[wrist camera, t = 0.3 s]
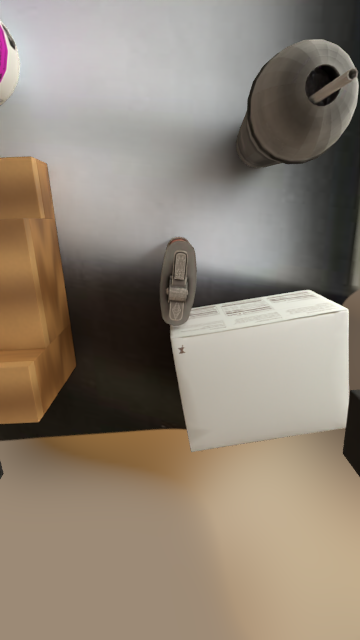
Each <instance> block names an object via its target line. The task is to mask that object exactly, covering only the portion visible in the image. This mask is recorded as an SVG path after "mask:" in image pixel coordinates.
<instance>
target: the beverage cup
mask: <svg viewBox="0 0 360 640" xmlns="http://www.w3.org/2000/svg"><path fill="white" fill-rule="evenodd" d="M357 75H358V71H357V69H356V68H355V66H354V65H353V63H352V61H351V59H350V57H349V55H348V54H347V53H346V52H345V51H343V50H342V49H341V48H340V47H339V46H338V45H336V44H333V43H330V42H328V41H325V40H323V39H320V40H303V41H301V42H298V43H296V44H293V45H291V46H288V47H286V48H285V49H283V50H282V51H281V52H279V53H278V54H276V55H275V56H274V57H273V58H272V59H271V60H269V61H268V62H267V63H266V64H265V65H264V66H263V67H262V69H261V70H260V72H259V73H258V75H257V77H256V78H255V80H254V81H253V84H252V87H251V91H250V94H249V97H248V106H247V112H246V115H245V117H244V120H243V122H242V125H241V127H240V130H239V133H238V136H237V141H236V149H237V153H238V156H239V157H240V159H241V161H242V162H243V163H245V164H246V165H247V166H250V167H253V168H256V167H267V166H271V165H275V164H279V163H285V164H303V163H305V162H308V161H310V160H313V159H316V158H318V157H319V156H320V155H322V154H323V153H324V152H326V151H327V150H328V149H329V148H331V146H332V145H333V144H334V143H335V142H336V141H337V140H338V139H339V137H340V136H341V134H342V133H343V132H344V130H345V129H346V128H347V126H348V125H349V123H350V120H351V118H352V115H353V113H354V110H355V108H356V105H357V97H358V88H359V85H358V79H357Z"/></svg>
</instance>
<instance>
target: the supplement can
mask: <svg viewBox="0 0 360 640" xmlns="http://www.w3.org/2000/svg"><path fill="white" fill-rule="evenodd" d="M19 69H20V61H19V56H18V51H17V47H16V44H15V42H14V40H13V38H12V36H11V34H10V33H9V31H8V29H7V27H6V26H5V25H4V24H3V23H2V22H1V20H0V105H1V104H3V103H4V102H5V101H6V100H7V99H8V98H9V97H10V96H11V95H12V93H13V91H14V89H15V87H16V85H17V83H18V80H19Z"/></svg>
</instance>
